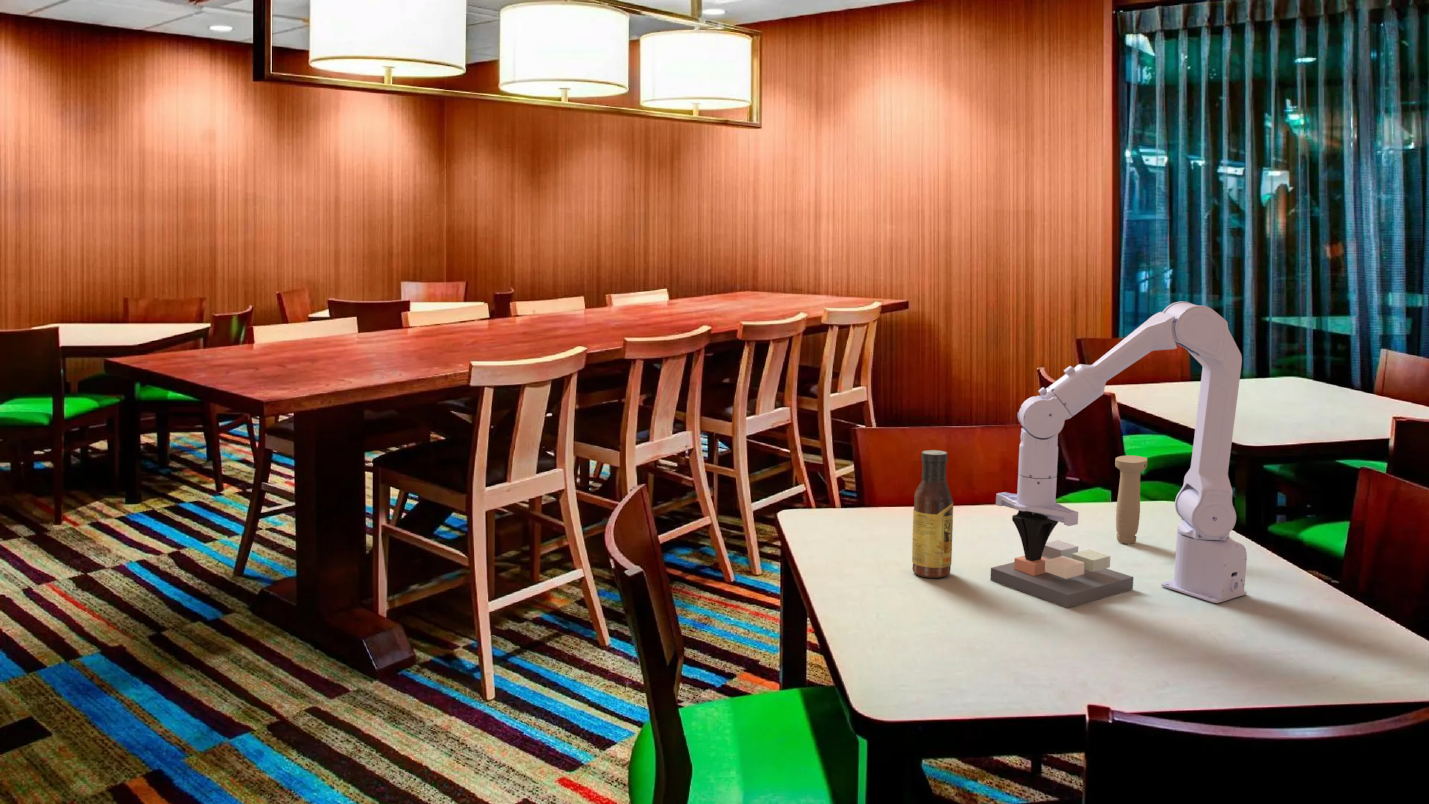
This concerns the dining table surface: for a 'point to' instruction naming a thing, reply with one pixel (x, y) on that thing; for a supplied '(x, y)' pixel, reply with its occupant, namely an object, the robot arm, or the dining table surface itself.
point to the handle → (1128, 497)
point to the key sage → (1092, 560)
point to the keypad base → (1064, 584)
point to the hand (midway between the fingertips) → (1033, 559)
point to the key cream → (1064, 567)
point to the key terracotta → (1030, 566)
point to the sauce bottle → (932, 518)
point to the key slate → (1059, 549)
